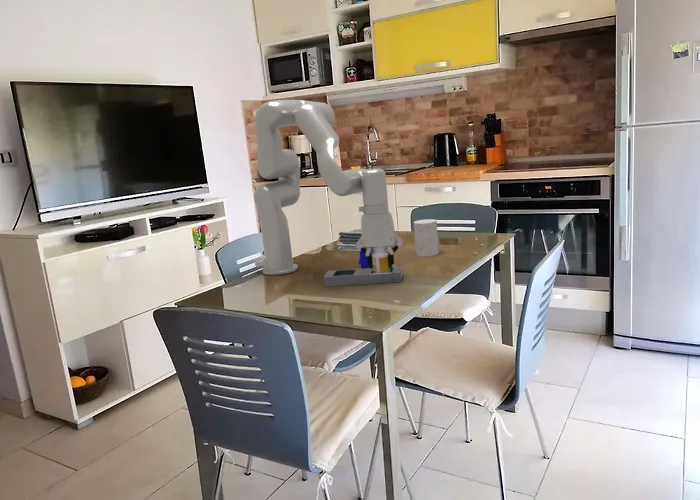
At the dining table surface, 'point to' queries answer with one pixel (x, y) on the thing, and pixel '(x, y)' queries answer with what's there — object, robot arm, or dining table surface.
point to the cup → (426, 237)
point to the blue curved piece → (364, 259)
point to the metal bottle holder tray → (362, 277)
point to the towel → (349, 240)
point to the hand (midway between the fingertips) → (381, 266)
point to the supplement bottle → (380, 260)
